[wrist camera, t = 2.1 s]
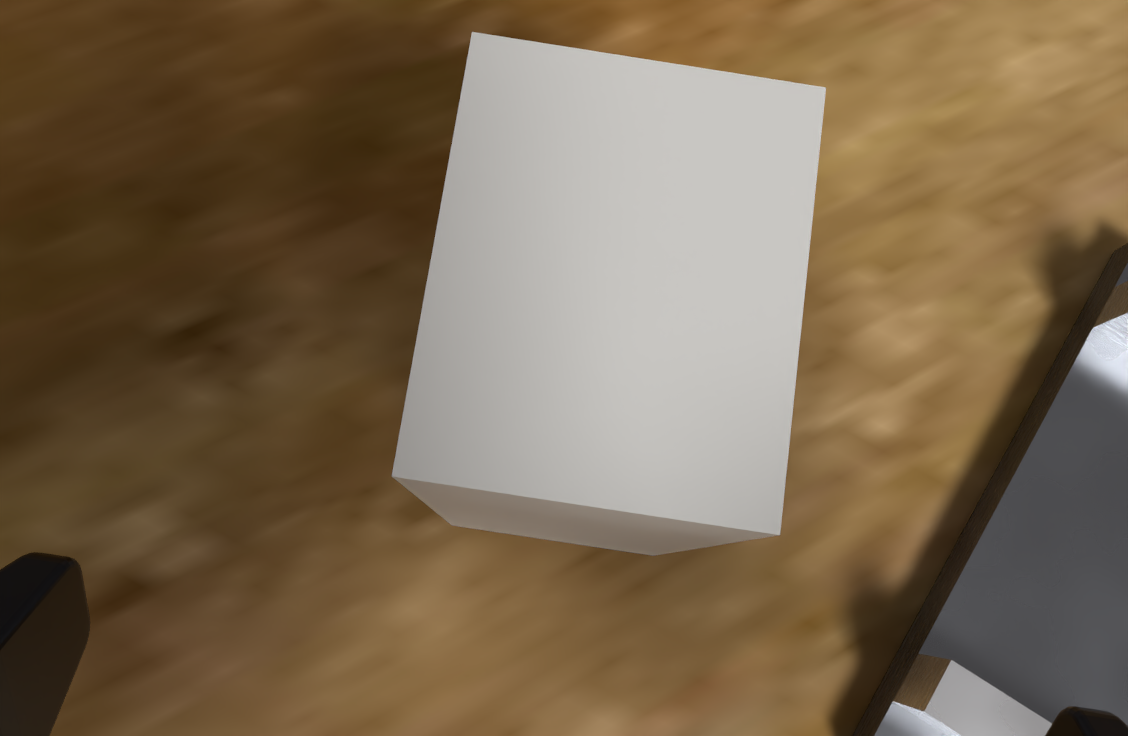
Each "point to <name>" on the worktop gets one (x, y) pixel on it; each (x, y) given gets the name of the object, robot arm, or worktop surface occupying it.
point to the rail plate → (1034, 562)
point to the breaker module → (613, 301)
